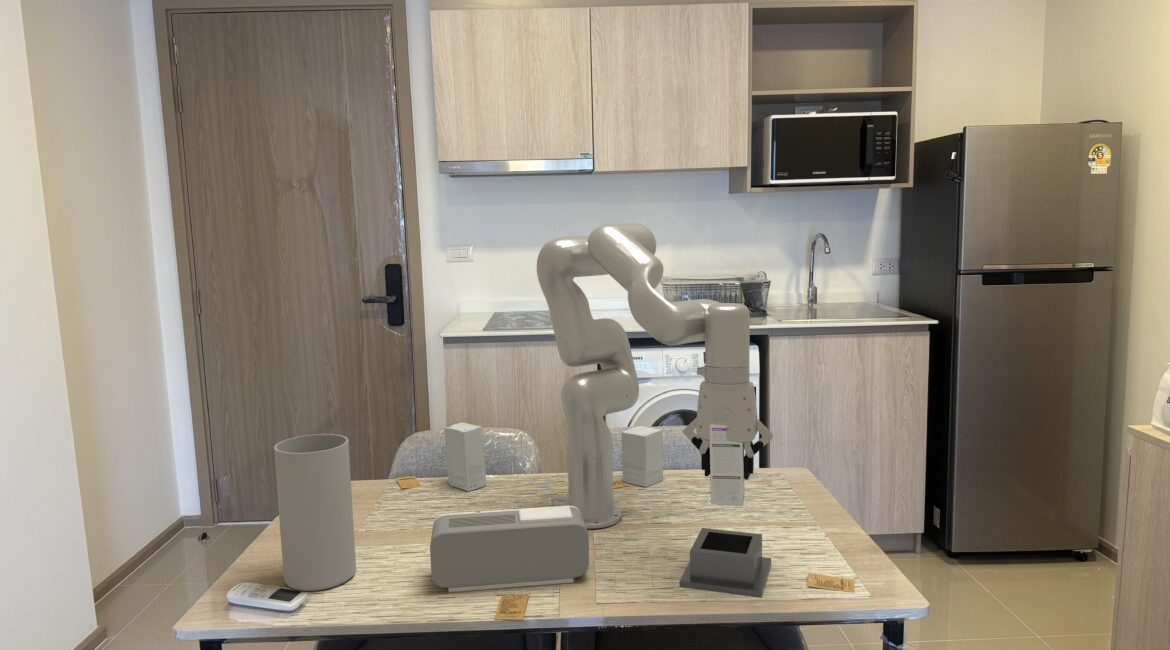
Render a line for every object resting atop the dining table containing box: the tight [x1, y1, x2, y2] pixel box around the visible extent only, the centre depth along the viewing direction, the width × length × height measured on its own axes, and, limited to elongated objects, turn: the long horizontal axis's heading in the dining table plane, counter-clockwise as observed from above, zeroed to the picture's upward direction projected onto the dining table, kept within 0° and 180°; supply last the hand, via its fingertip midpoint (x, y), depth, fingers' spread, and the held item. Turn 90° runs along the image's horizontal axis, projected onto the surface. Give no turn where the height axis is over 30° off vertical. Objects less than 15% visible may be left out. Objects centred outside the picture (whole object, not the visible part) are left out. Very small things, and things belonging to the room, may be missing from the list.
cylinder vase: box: [273, 433, 357, 592], centre depth 145 cm, size 12×12×25 cm
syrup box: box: [709, 424, 745, 507], centre depth 142 cm, size 6×6×14 cm
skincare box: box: [444, 421, 487, 492], centre depth 195 cm, size 8×6×15 cm
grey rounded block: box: [429, 506, 590, 593], centre depth 145 cm, size 27×9×12 cm, turn 98°
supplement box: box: [620, 425, 664, 488], centre depth 196 cm, size 7×7×13 cm
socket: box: [679, 527, 772, 598], centre depth 144 cm, size 14×14×6 cm
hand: (727, 474), depth 142 cm, fingers closed on syrup box, 6 cm apart
